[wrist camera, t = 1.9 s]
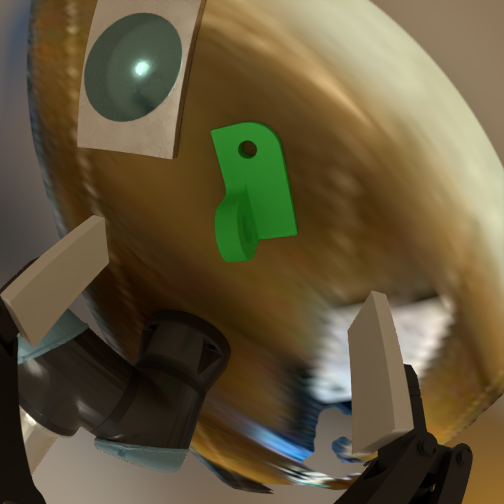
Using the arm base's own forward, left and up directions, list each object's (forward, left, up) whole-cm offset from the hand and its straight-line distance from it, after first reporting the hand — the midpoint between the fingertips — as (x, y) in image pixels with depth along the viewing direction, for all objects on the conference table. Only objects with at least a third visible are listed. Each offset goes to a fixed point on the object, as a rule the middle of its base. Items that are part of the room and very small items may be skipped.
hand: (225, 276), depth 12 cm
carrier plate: (+10, +17, -17) cm, 26 cm away
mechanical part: (-1, +1, -18) cm, 18 cm away
